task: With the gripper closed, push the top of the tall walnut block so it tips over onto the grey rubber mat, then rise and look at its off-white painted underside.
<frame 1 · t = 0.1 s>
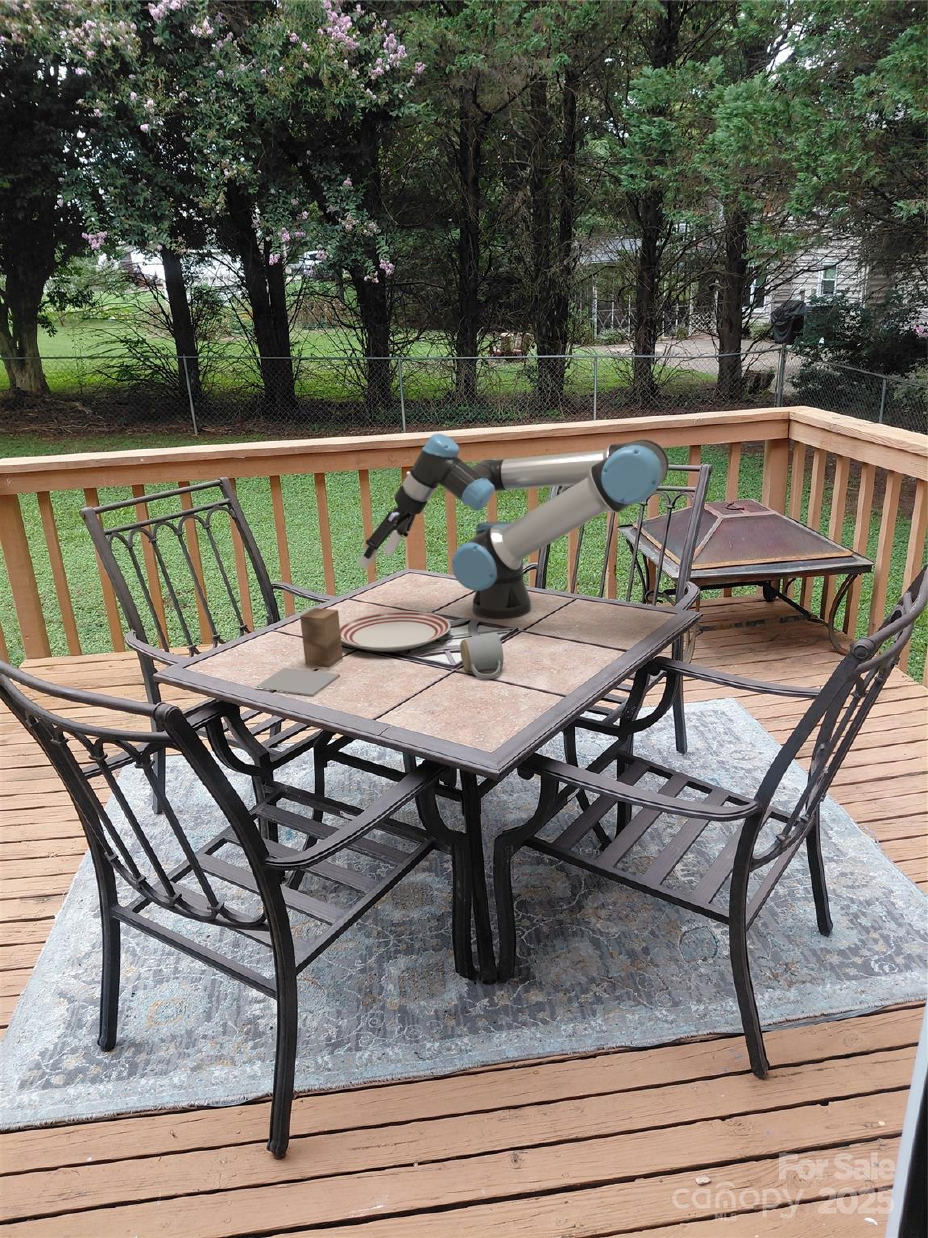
hand: (374, 559, 212), 15 cm above the table, tool tilted 35°, fingers open, 13 cm apart
walnut block: (324, 664, 187), on the table
dinner plate: (394, 640, 201), on the table
grey mat: (298, 682, 177), on the table
ceramic mug: (485, 671, 179), on the table
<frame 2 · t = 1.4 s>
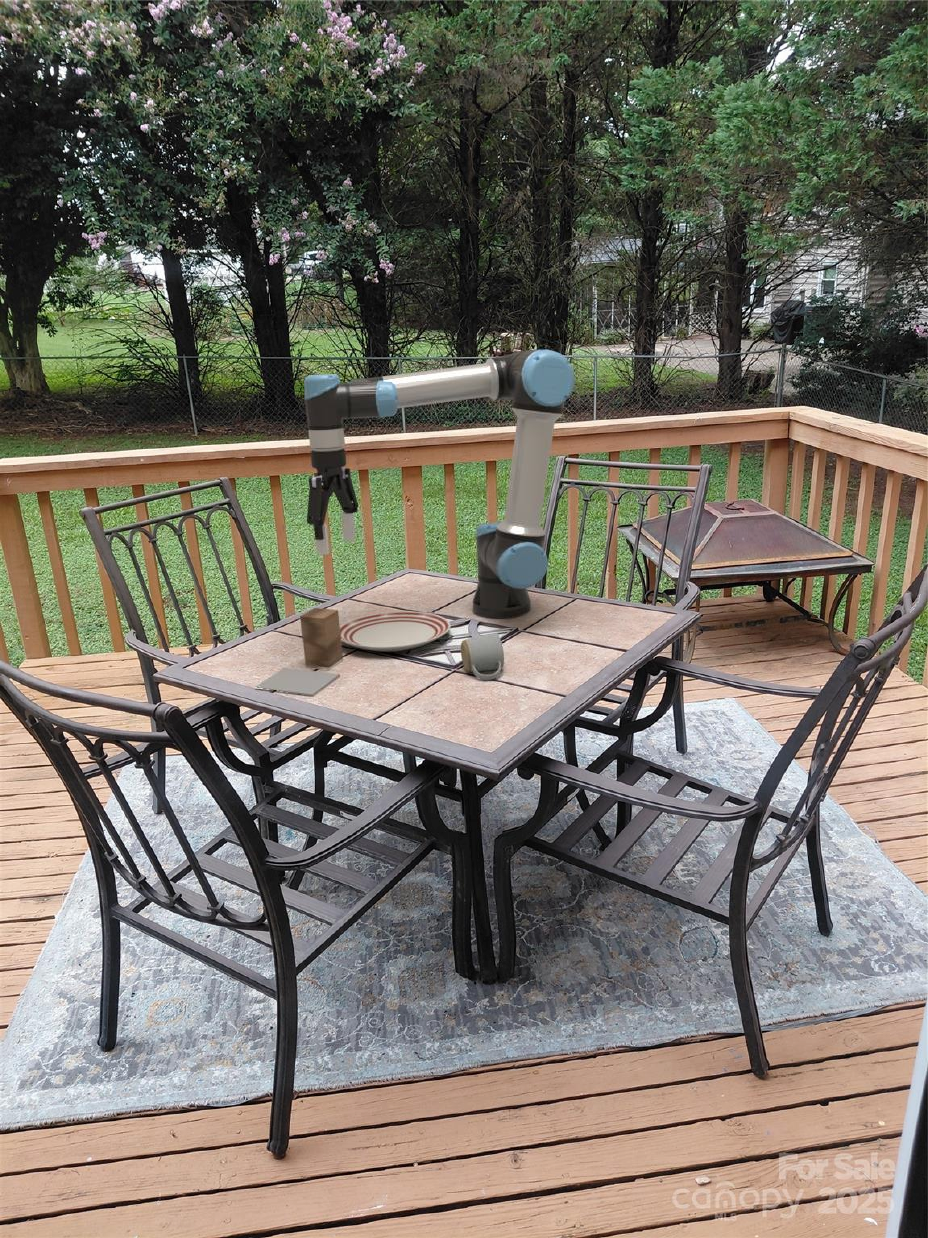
hand: (336, 547, 188), 24 cm above the table, tool pointing down, fingers open, 11 cm apart
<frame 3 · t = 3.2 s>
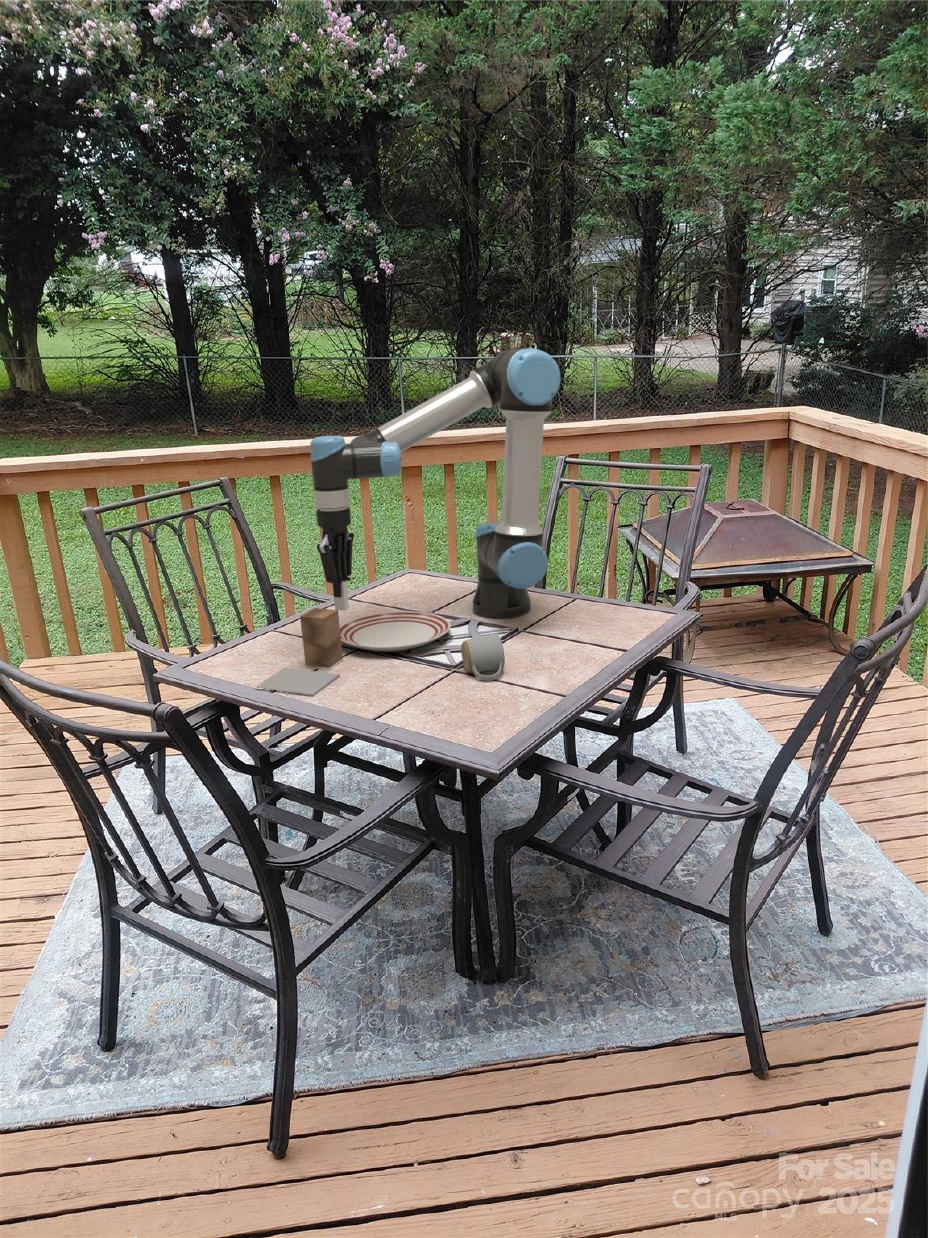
hand: (341, 609, 193), 10 cm above the table, tool pointing down, fingers closed
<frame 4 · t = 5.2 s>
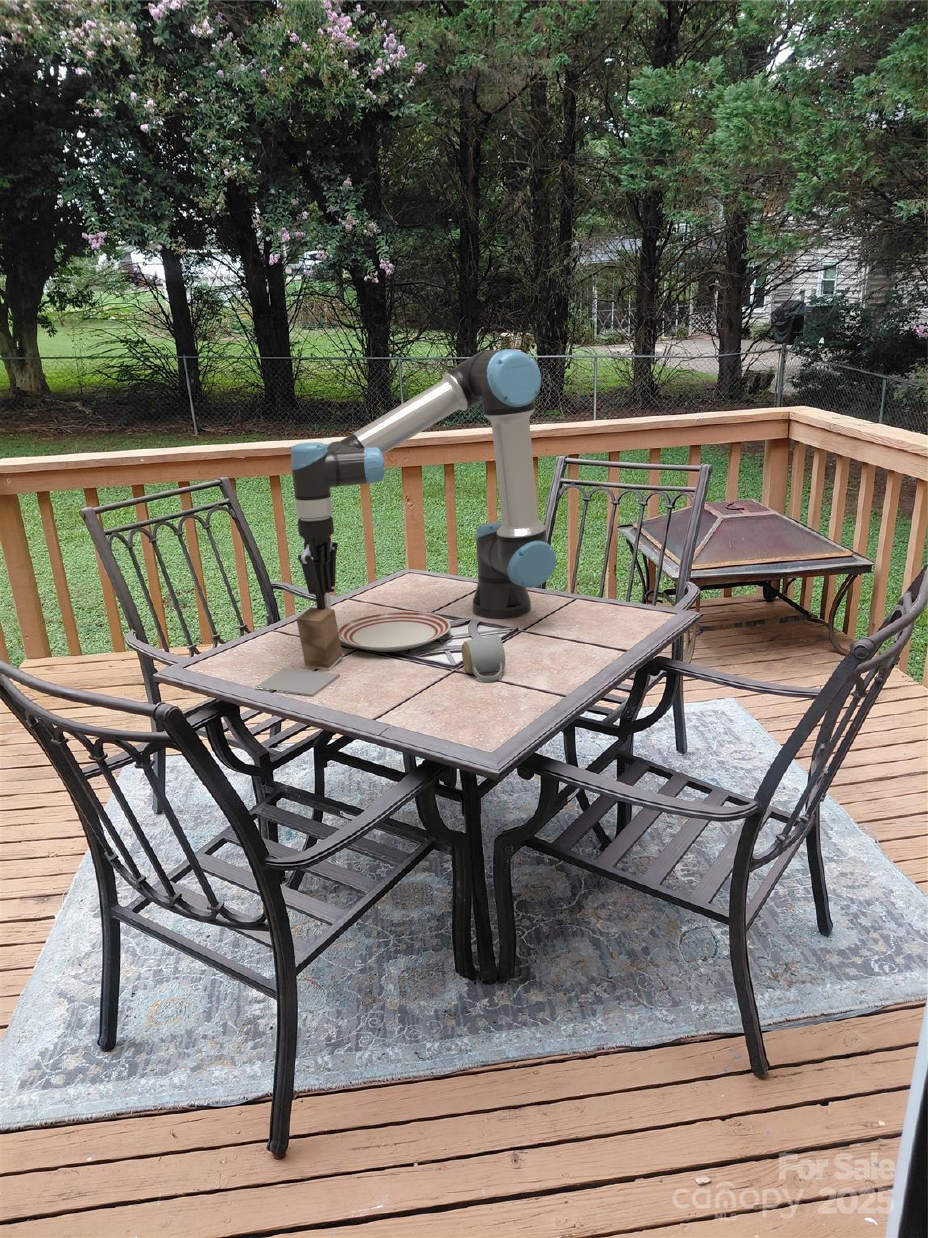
hand: (325, 621, 186), 9 cm above the table, tool pointing down, fingers closed
walnut block: (324, 662, 187), on the table, tilted 7°, touching gripper
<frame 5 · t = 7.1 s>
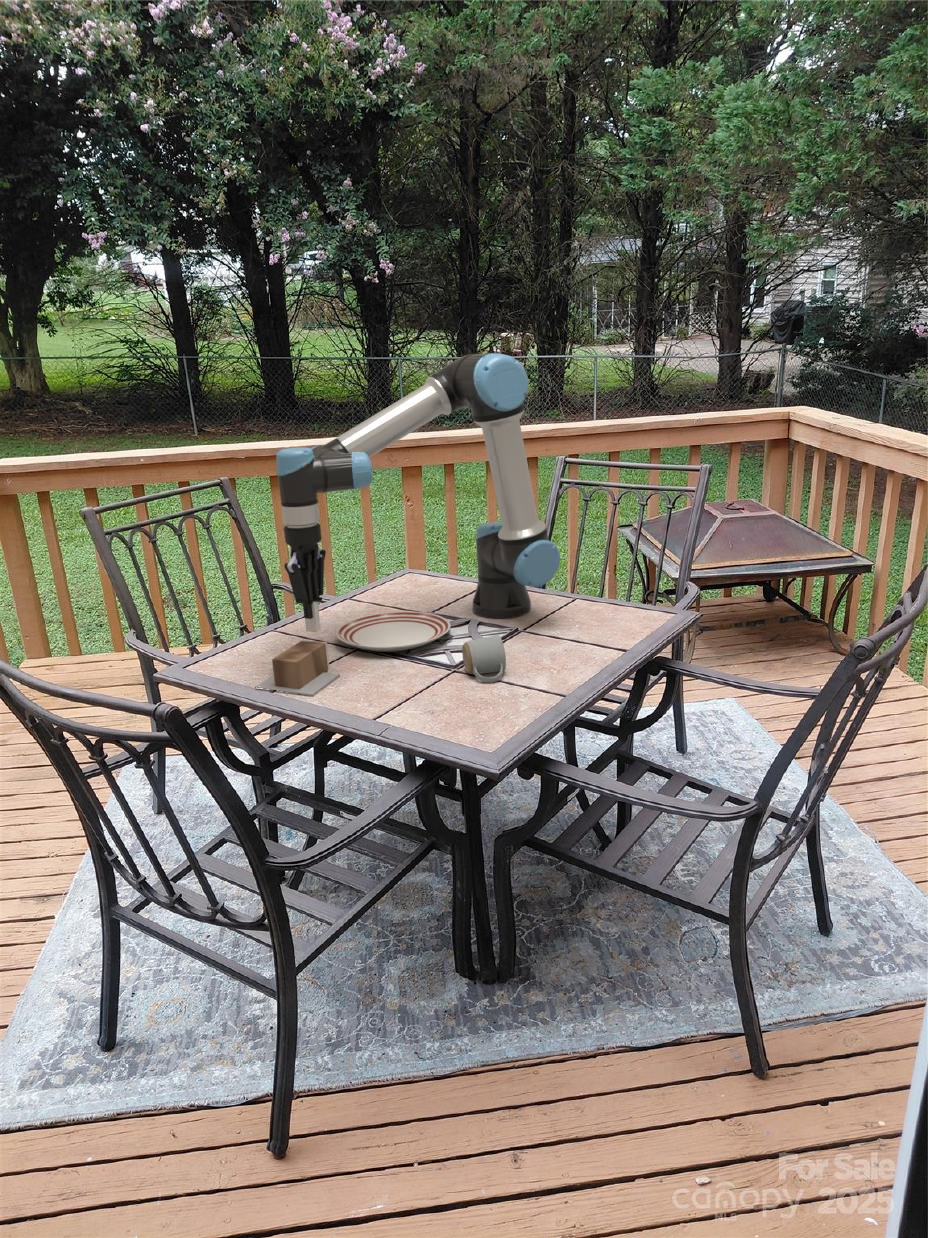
hand: (313, 630, 181), 9 cm above the table, tool pointing down, fingers closed
walnut block: (316, 653, 183), point 3 cm above the table, tilted 90°, touching grey mat
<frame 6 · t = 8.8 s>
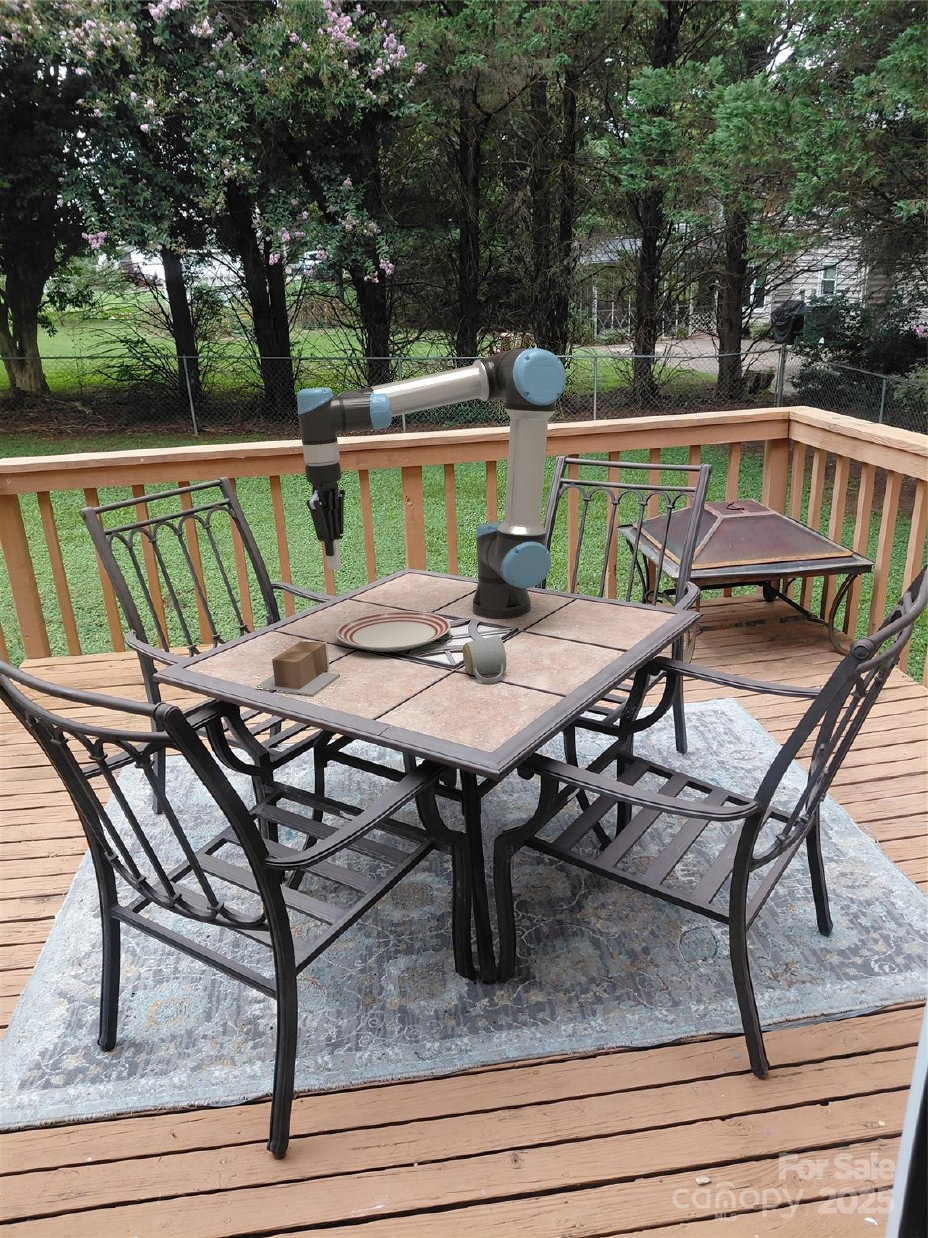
hand: (334, 568, 187), 20 cm above the table, tool pointing down, fingers closed
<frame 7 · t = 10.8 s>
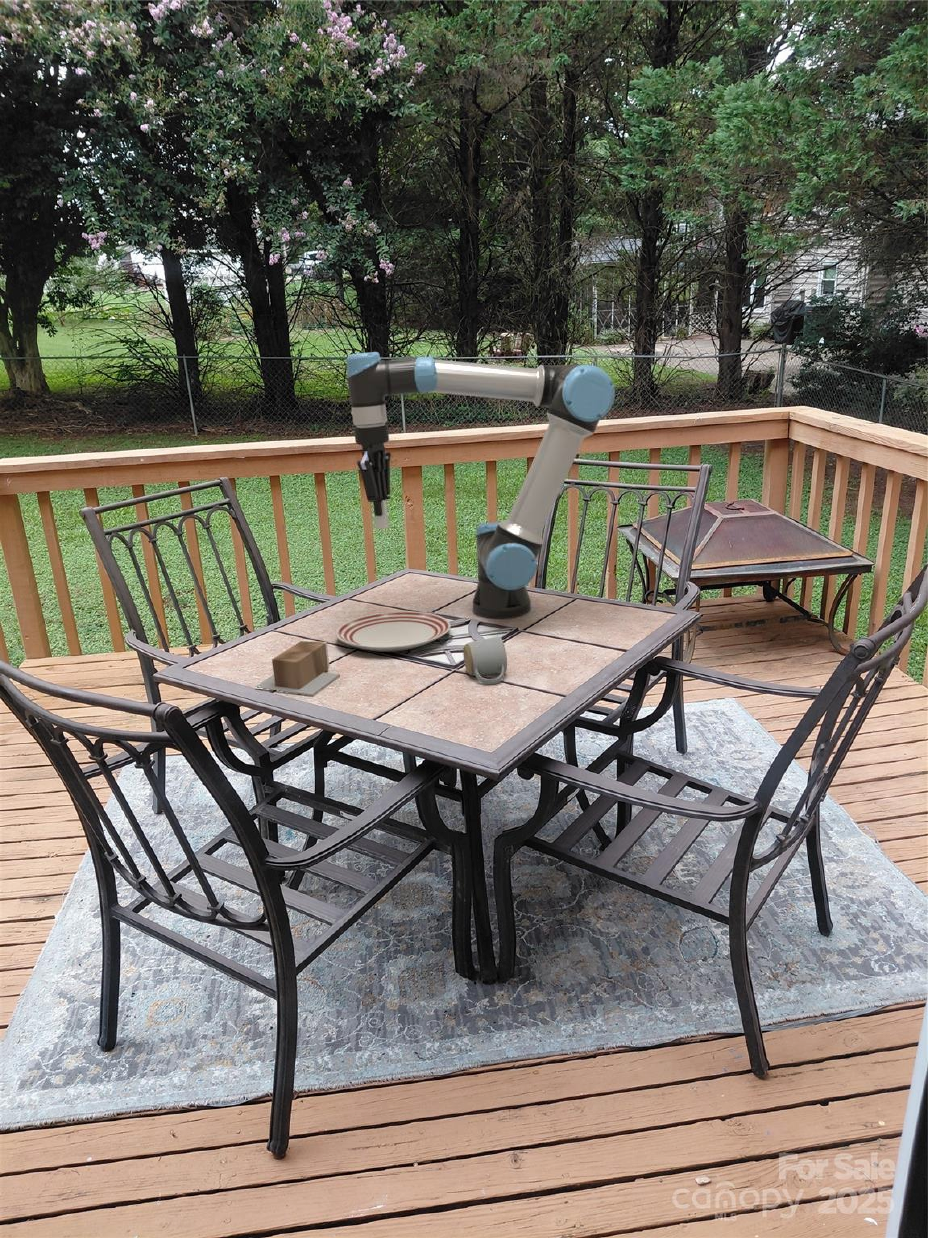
hand: (382, 528, 194), 26 cm above the table, tool pointing down, fingers closed
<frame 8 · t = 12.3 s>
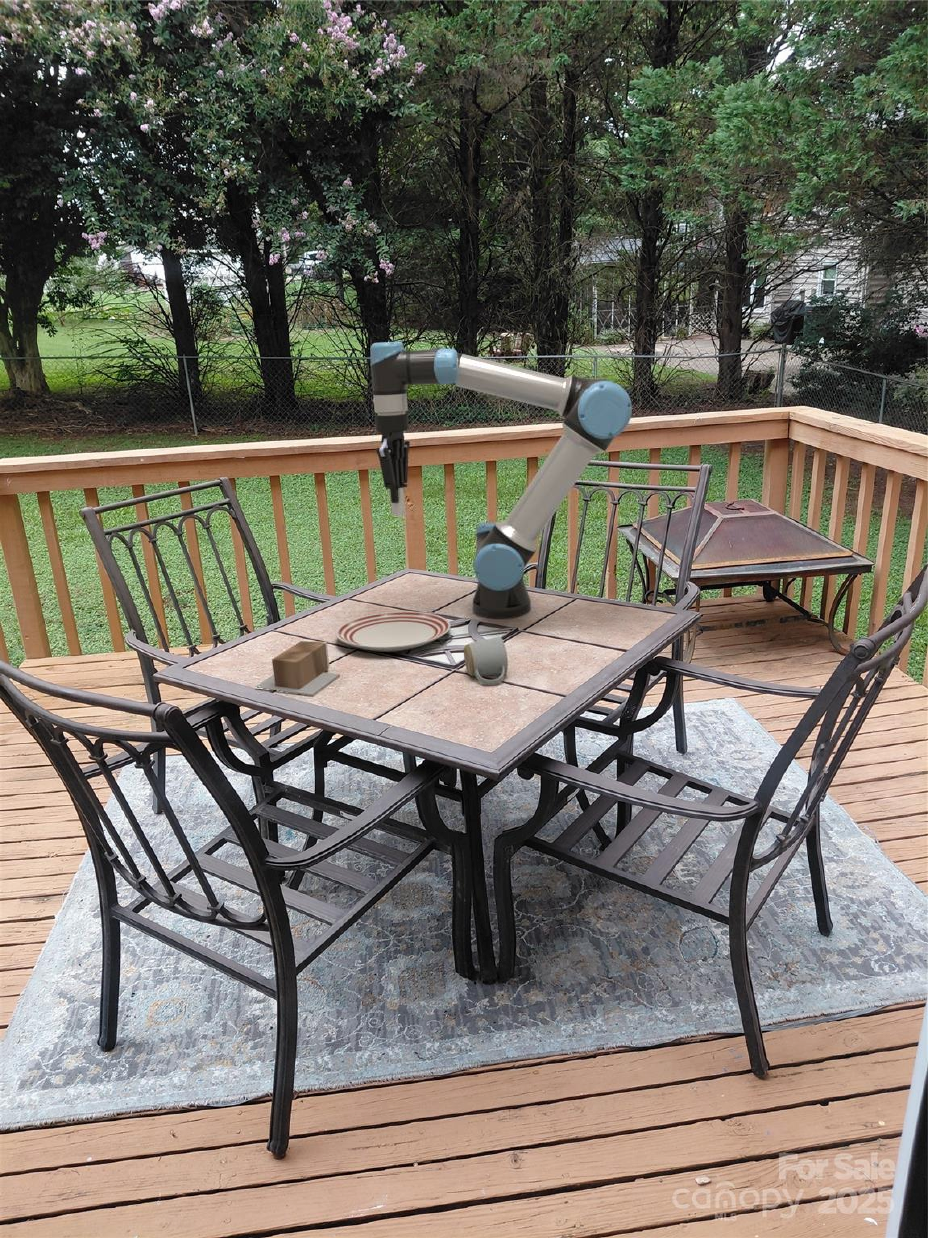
hand: (398, 515, 198), 28 cm above the table, tool pointing down, fingers closed
at the end: walnut block tilted 90°; walnut block inside the target area (6.1 cm from its centre), point 3.5 cm above the table; the gripper is holding nothing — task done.
